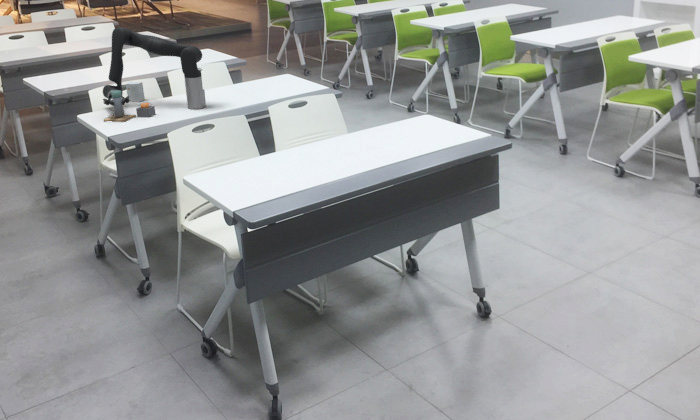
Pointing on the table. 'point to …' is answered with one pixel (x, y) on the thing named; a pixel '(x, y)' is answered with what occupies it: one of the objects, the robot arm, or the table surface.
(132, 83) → the small box
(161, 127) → the table surface
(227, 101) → the table surface
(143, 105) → the button
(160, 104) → the table surface
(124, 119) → the kraft pad
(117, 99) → the marker
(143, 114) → the button housing
